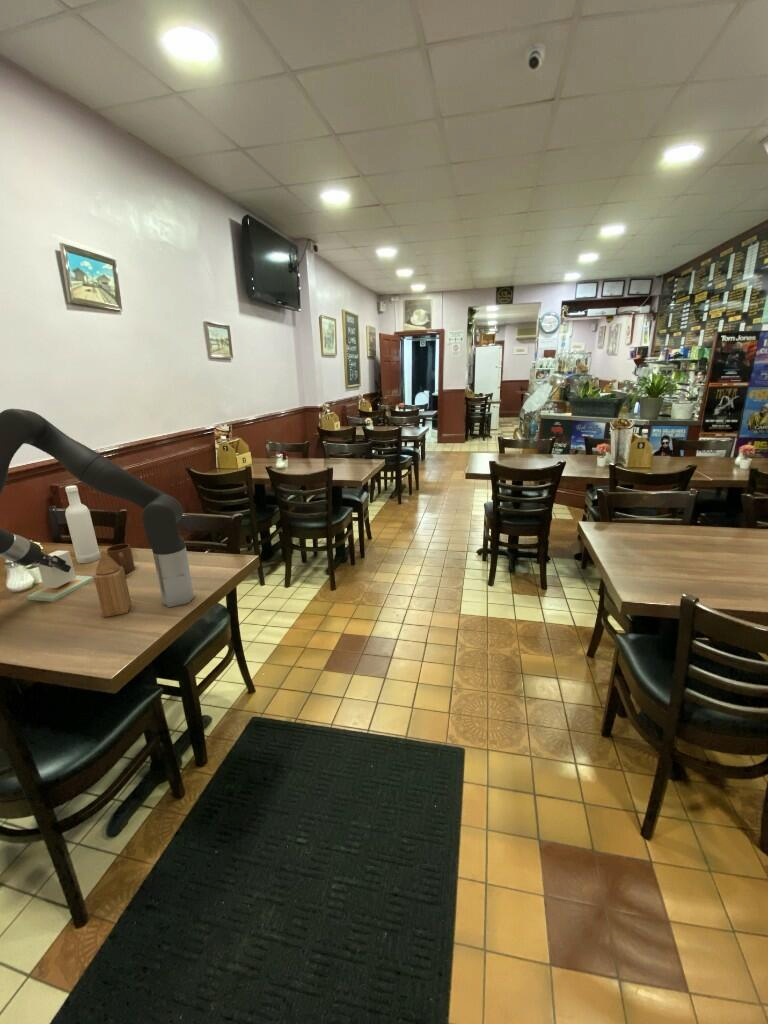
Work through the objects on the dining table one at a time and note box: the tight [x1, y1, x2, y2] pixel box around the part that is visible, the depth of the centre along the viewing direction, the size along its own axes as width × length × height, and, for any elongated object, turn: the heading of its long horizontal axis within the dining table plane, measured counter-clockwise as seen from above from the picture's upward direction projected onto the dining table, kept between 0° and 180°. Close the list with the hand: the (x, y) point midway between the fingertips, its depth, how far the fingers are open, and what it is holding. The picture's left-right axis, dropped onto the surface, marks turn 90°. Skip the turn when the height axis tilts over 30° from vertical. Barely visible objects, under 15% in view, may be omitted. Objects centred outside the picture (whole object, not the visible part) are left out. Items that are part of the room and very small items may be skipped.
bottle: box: [64, 485, 101, 565], centre depth 167 cm, size 8×8×30 cm
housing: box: [38, 550, 76, 588], centre depth 145 cm, size 8×5×10 cm, turn 168°
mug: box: [106, 543, 136, 574], centre depth 157 cm, size 12×8×9 cm, turn 37°
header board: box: [26, 574, 95, 603], centre depth 146 cm, size 16×10×5 cm, turn 168°
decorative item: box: [93, 550, 132, 618], centre depth 129 cm, size 7×7×20 cm
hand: (62, 568), depth 147 cm, fingers closed on housing, 4 cm apart
